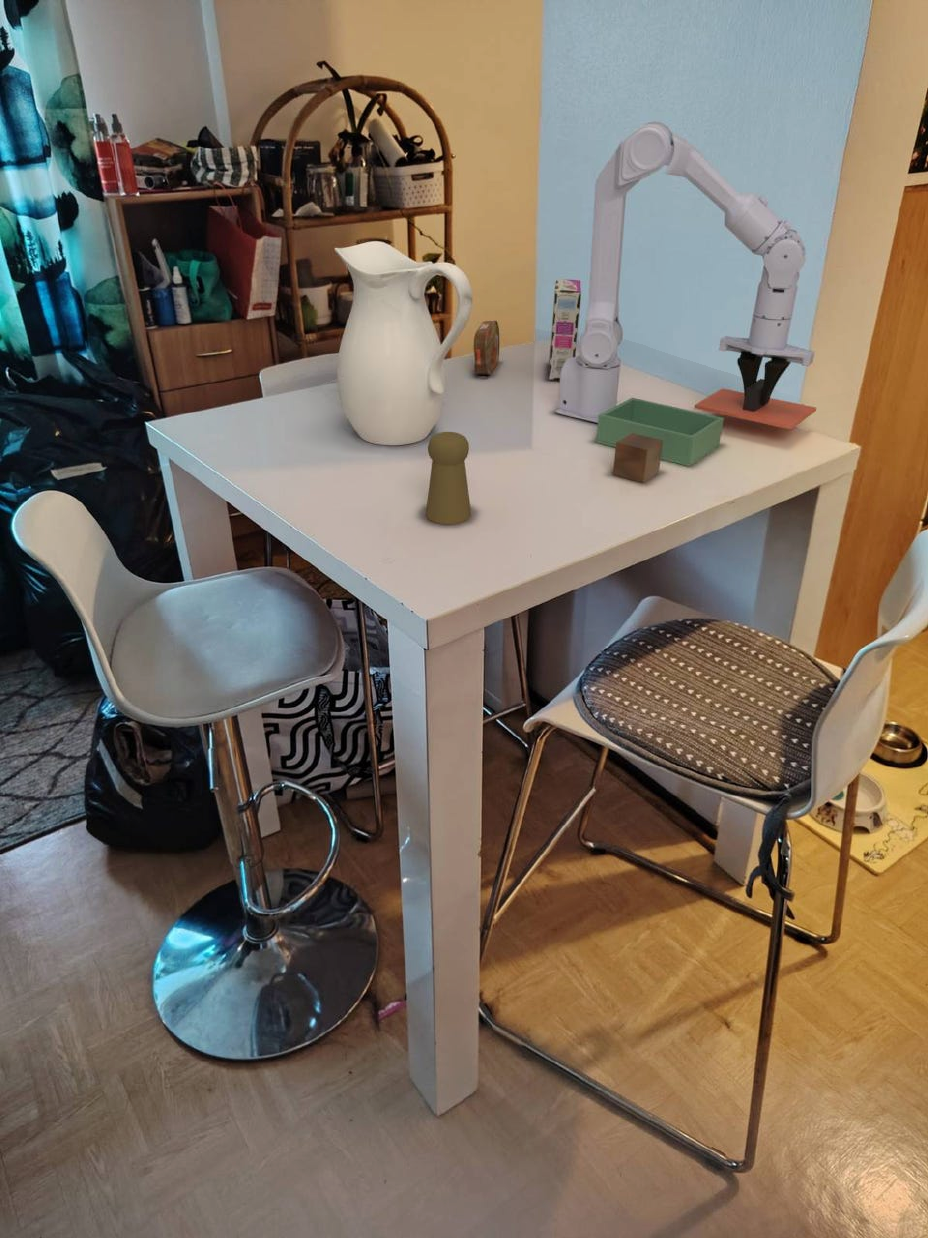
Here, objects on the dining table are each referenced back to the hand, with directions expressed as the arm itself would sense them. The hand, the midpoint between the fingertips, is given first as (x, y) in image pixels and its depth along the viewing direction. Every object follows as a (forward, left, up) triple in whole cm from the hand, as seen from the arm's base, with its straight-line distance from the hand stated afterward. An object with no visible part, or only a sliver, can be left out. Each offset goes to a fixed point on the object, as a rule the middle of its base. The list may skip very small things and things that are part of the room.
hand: (756, 401), depth 145 cm
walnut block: (-6, -29, -5) cm, 30 cm away
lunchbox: (-9, -16, -5) cm, 19 cm away
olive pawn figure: (-19, -57, -5) cm, 60 cm away
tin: (-54, 0, -5) cm, 54 cm away
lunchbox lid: (0, 0, -1) cm, 1 cm away
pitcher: (-41, -39, -5) cm, 57 cm away
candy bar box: (-41, +7, -5) cm, 42 cm away
